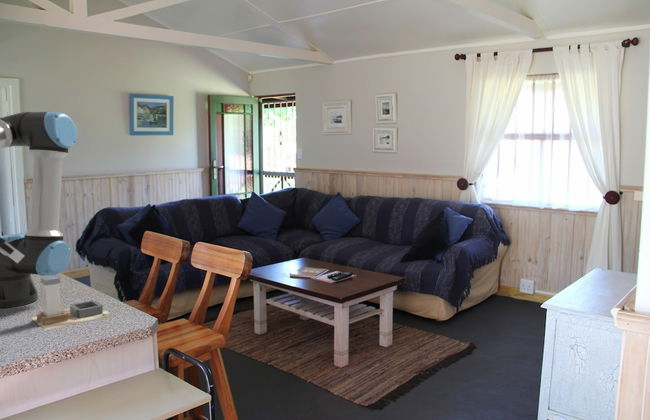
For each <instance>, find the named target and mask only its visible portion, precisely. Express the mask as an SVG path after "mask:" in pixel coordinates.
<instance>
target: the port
mask: <svg viewBox="0 0 650 420" xmlns="http://www.w3.org/2000/svg"><path fill="white" fill-rule="evenodd" d="M69 309H70V313H71V314H72V315H73V316H75V317H76V318H78V317H79V318H84V317H89V316H94V315H99V314H102V313H103V309H104V308H103V304H102V303H100V302H98V301H97V300H93V299H92V300H87V301H81V302H77V303H76V302H75V303H71V304H70V305H69ZM103 315H106V313H103Z"/></svg>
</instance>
